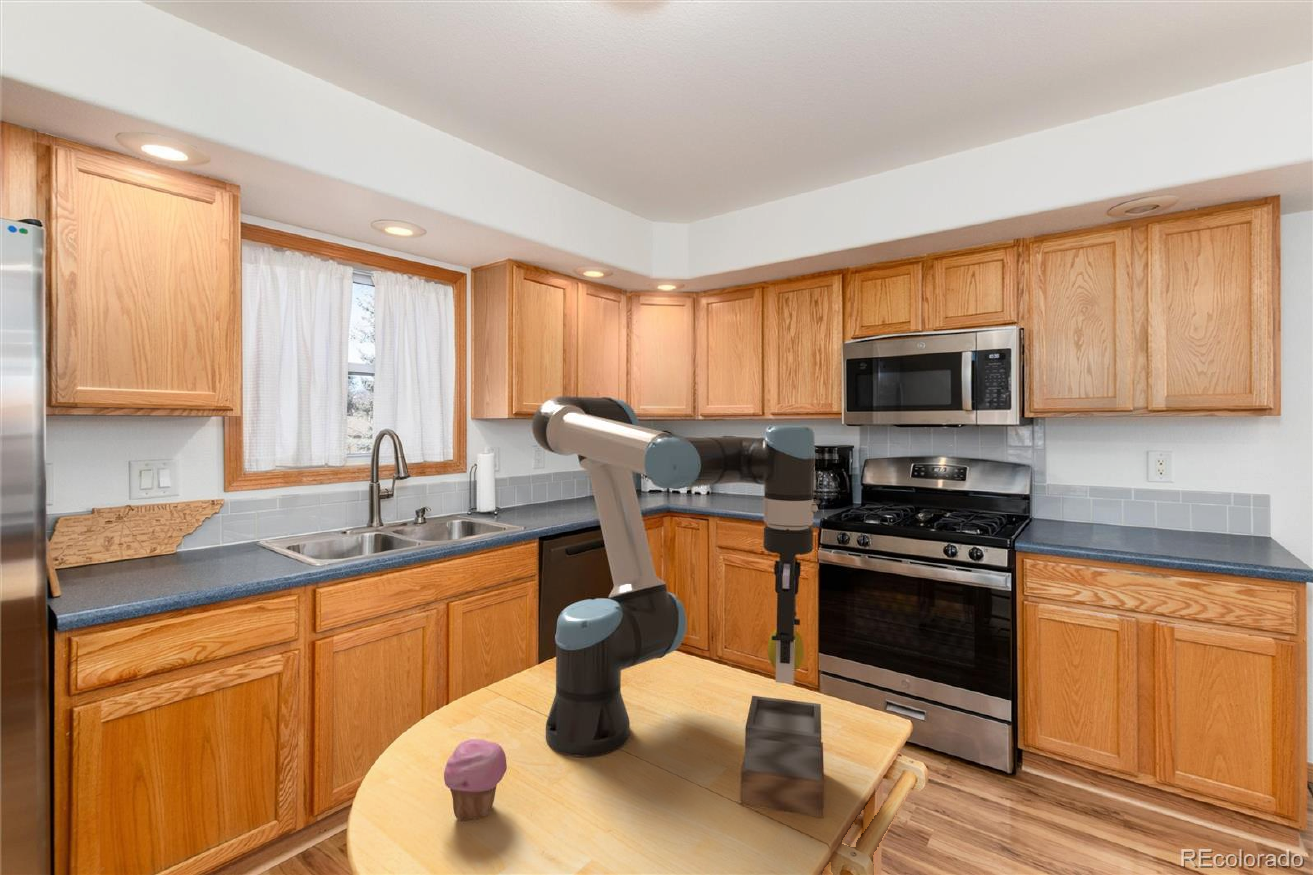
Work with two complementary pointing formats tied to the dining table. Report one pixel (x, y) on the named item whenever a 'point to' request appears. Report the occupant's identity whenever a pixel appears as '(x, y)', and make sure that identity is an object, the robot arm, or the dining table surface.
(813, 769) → the grey storage bin
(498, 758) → the cupcake
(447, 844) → the dining table surface
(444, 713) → the dining table surface
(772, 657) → the lemon
